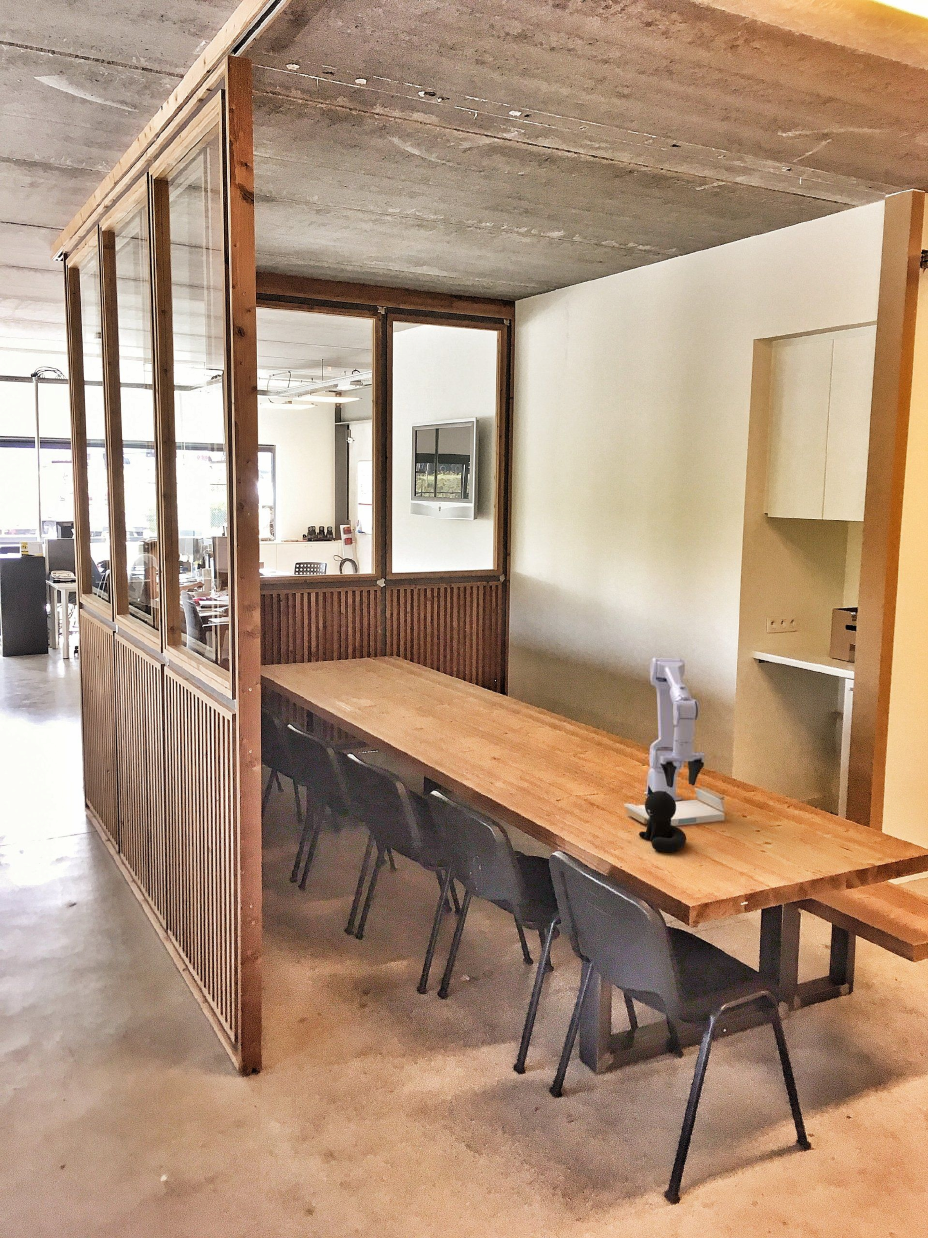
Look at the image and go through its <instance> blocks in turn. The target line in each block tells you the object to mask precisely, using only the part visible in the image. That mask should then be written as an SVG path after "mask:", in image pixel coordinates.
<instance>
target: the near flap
mask: <svg viewBox="0 0 928 1238" xmlns="http://www.w3.org/2000/svg"><path fill="white" fill-rule="evenodd" d="M623 806H624V807H625V813H624V814H627V815H628V816H630V817H631V818H634V819H635V820H637V821H638V822H641V823H642V824H647V825H648V819H650V817H649V816H648V814H647V813H646V811H645V810H643V809H642V808H640V807H638V806H639V805H635V804H634V803H623Z"/></svg>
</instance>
